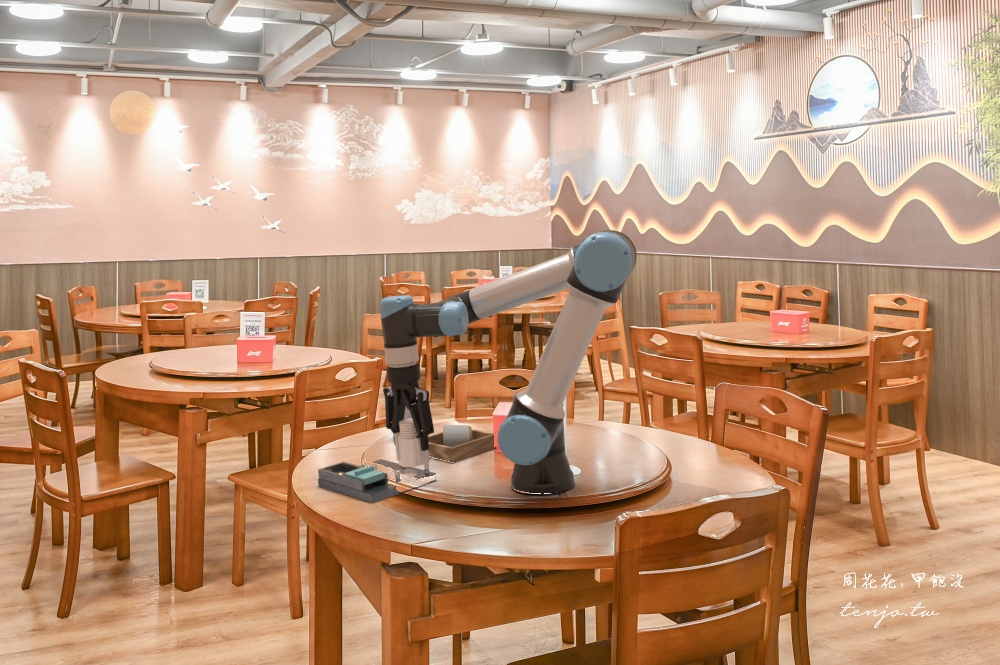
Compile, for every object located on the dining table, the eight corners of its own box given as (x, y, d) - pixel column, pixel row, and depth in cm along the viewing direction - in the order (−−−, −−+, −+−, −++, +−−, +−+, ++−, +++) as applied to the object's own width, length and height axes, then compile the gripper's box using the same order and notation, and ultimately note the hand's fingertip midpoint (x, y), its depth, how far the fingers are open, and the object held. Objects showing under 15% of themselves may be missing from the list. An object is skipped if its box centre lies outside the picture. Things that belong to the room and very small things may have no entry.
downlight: (399, 458, 212) (395, 418, 210) (429, 455, 212) (425, 415, 211) (397, 470, 204) (392, 427, 203) (428, 467, 205) (423, 424, 203)
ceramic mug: (473, 453, 247) (471, 426, 246) (443, 456, 247) (441, 428, 246) (471, 444, 258) (470, 417, 257) (443, 446, 257) (441, 420, 256)
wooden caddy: (497, 447, 251) (496, 433, 251) (452, 463, 239) (451, 448, 239) (460, 440, 262) (459, 426, 261) (415, 454, 250) (414, 440, 249)
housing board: (436, 480, 225) (434, 461, 224) (372, 503, 211) (370, 482, 210) (381, 466, 241) (379, 448, 240) (318, 486, 227) (316, 467, 226)
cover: (384, 478, 219) (383, 468, 218) (364, 485, 214) (364, 474, 214) (364, 472, 224) (363, 463, 224) (344, 479, 220) (344, 469, 220)
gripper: (444, 363, 201) (454, 463, 204) (388, 358, 215) (398, 451, 218) (418, 370, 195) (429, 472, 199) (362, 364, 209) (373, 459, 213)
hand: (413, 461), depth 208 cm, fingers closed on downlight, 7 cm apart
